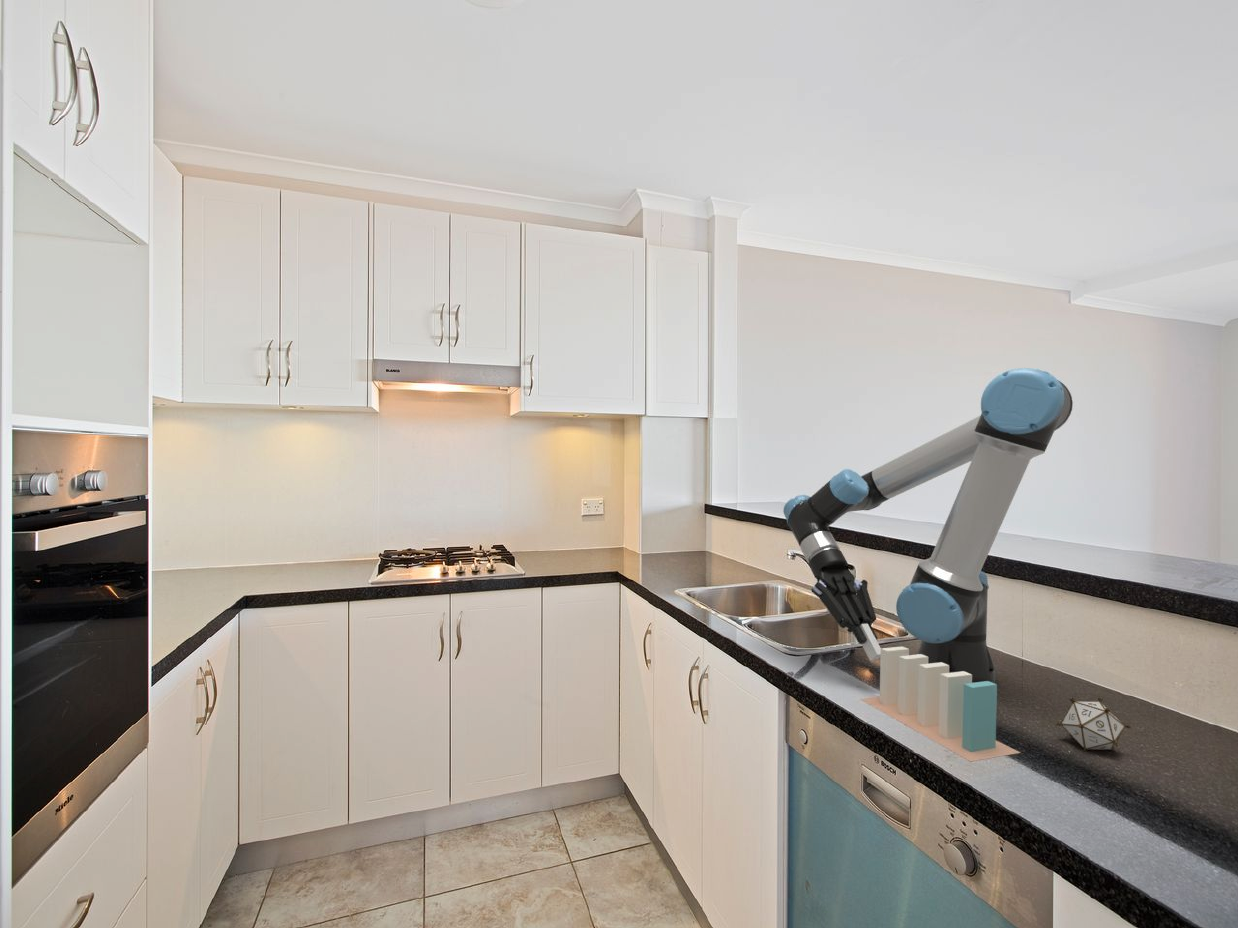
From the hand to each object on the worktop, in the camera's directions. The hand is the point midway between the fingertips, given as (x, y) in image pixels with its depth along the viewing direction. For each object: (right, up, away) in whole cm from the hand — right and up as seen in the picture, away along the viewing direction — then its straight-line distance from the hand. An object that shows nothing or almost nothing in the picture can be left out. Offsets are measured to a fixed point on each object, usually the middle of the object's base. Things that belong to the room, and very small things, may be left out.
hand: (876, 657), depth 115 cm
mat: (+4, -8, -13) cm, 15 cm away
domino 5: (+7, -7, -21) cm, 23 cm away
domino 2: (+3, -7, -8) cm, 11 cm away
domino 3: (+4, -7, -13) cm, 15 cm away
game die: (+26, -8, -20) cm, 34 cm away
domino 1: (+1, -7, -4) cm, 8 cm away
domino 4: (+5, -7, -17) cm, 19 cm away
